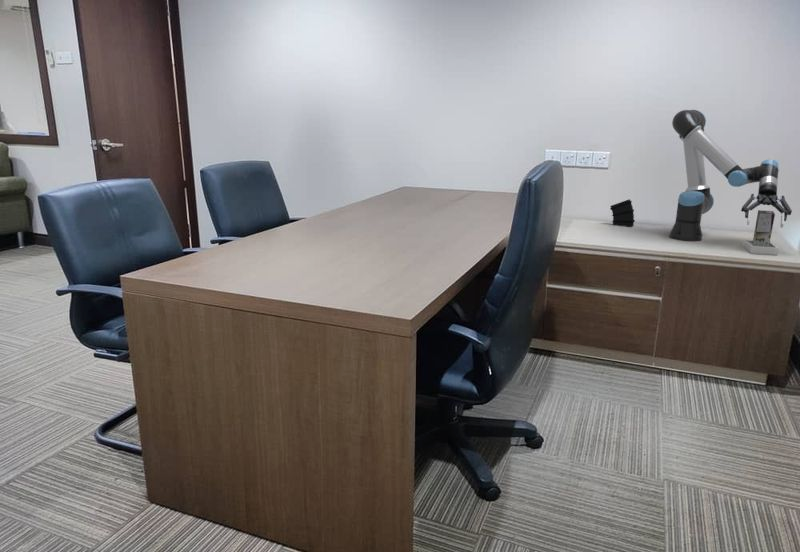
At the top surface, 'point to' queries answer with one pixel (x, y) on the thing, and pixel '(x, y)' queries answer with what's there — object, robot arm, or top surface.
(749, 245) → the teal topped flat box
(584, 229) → the top surface
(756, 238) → the coffee box
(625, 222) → the black ridged block
